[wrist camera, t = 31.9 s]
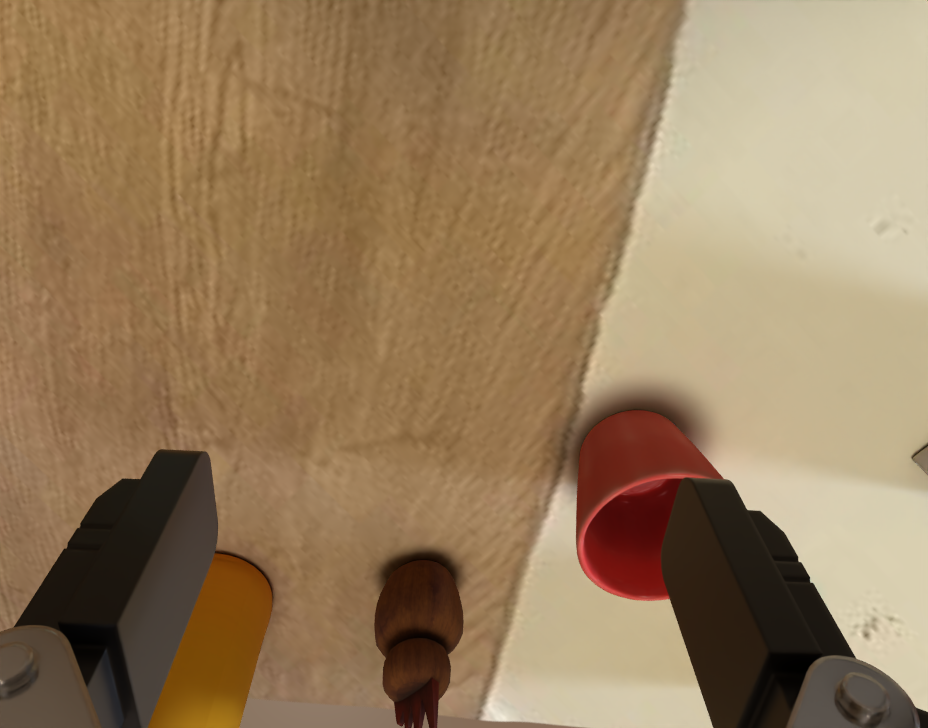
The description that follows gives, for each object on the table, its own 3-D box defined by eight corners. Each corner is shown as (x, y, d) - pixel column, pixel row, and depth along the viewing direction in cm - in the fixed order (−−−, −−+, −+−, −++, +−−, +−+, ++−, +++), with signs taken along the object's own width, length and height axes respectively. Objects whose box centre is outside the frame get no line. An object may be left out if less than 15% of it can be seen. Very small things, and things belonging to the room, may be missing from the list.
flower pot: (531, 433, 53) (546, 524, 45) (668, 365, 51) (712, 448, 42) (595, 525, 58) (619, 623, 50) (724, 467, 55) (773, 561, 47)
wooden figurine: (446, 540, 59) (445, 709, 46) (471, 587, 61) (477, 760, 48) (369, 563, 60) (347, 734, 47) (397, 608, 62) (383, 782, 49)
